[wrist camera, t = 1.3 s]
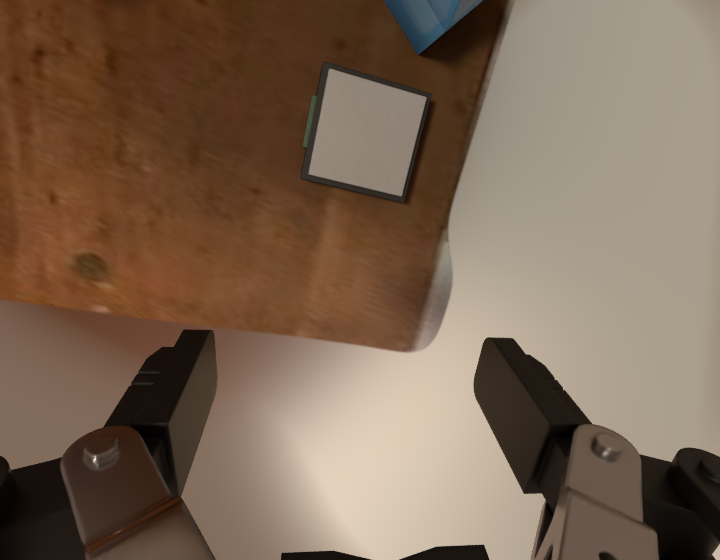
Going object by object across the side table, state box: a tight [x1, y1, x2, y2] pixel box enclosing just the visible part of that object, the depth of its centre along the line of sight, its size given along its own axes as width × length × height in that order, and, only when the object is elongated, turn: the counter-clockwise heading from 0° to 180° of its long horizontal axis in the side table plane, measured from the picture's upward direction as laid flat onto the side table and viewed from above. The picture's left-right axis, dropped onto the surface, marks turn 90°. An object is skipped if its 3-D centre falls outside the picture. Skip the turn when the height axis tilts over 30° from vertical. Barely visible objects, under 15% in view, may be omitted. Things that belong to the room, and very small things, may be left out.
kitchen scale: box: [301, 62, 432, 203], centre depth 34 cm, size 9×9×3 cm
